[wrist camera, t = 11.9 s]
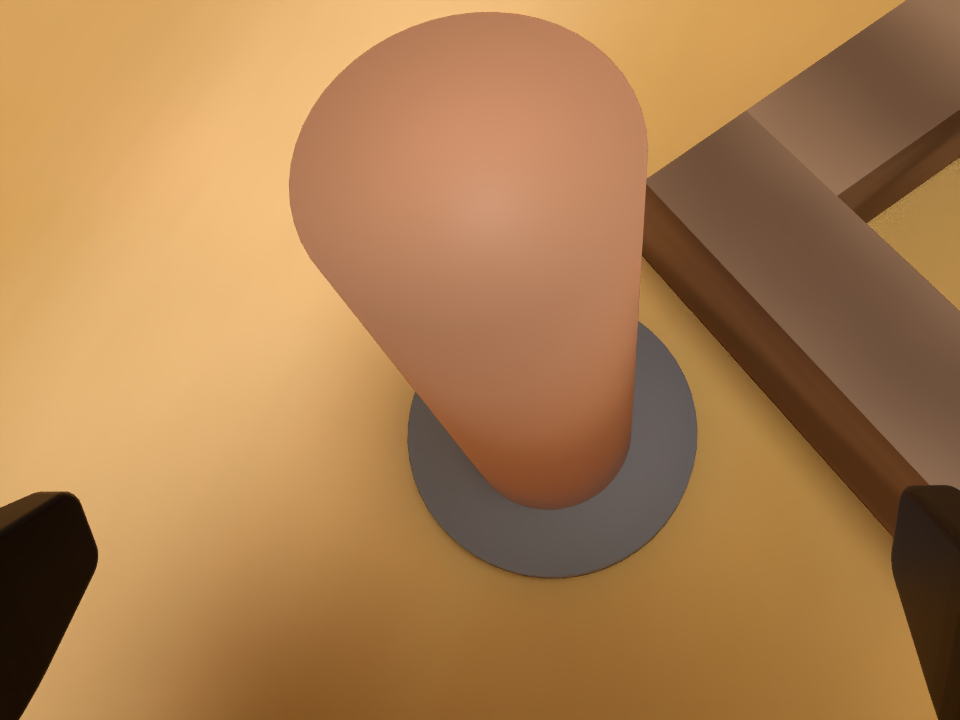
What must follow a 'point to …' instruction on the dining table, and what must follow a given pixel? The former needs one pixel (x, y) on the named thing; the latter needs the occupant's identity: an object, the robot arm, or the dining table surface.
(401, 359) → the peg
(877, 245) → the pocket block
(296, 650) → the dining table surface
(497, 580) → the dining table surface
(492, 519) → the coaster
